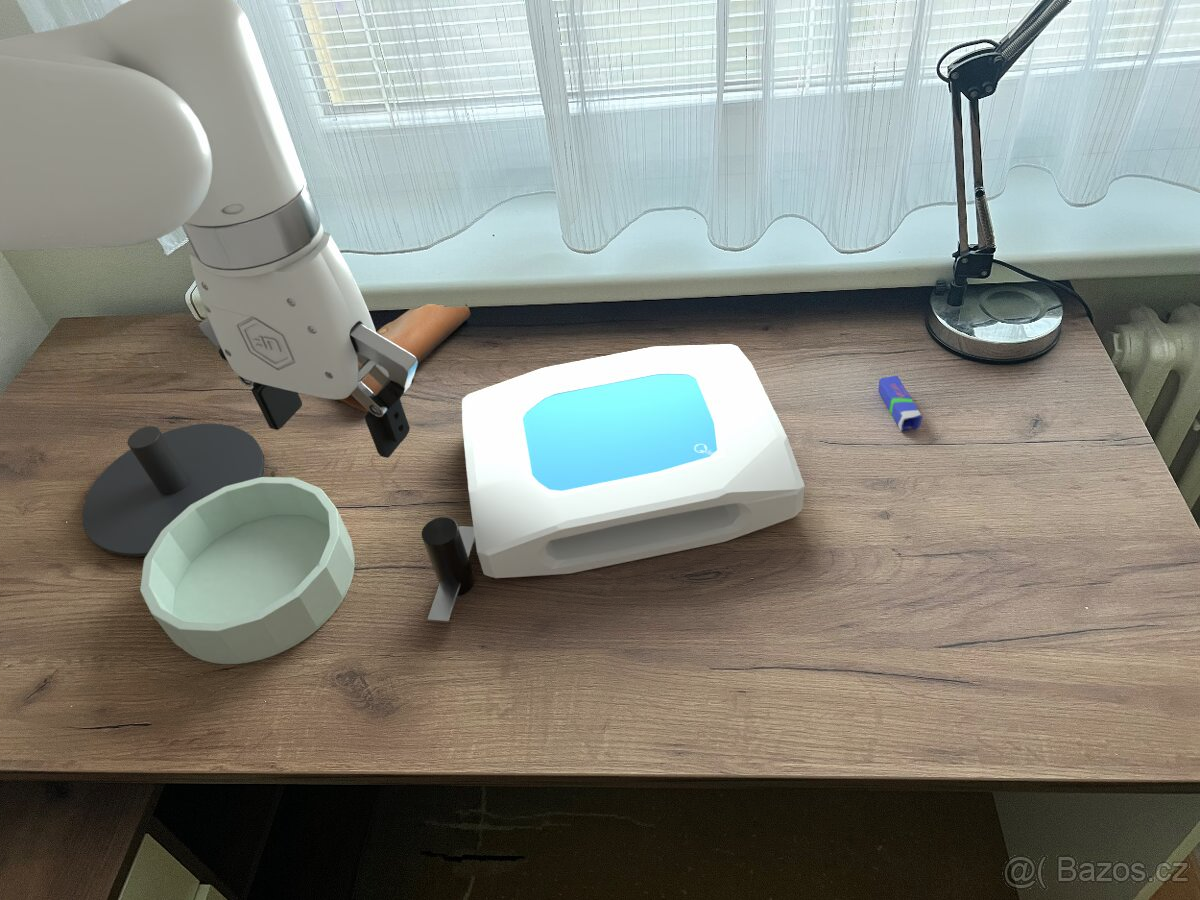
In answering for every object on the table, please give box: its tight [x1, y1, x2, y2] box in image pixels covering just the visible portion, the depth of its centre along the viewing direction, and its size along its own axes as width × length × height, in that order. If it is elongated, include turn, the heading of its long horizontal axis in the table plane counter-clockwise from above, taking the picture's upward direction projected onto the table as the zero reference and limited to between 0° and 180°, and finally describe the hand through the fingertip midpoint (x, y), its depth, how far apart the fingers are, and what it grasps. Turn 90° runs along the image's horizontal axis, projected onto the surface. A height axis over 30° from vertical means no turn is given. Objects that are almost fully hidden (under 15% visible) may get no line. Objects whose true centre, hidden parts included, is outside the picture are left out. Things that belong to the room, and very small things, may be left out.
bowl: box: [139, 476, 356, 665], centre depth 76 cm, size 17×17×5 cm
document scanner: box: [461, 343, 806, 579], centre depth 81 cm, size 21×28×6 cm
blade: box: [421, 516, 476, 624], centre depth 73 cm, size 10×3×7 cm, turn 171°
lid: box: [81, 423, 265, 558], centre depth 85 cm, size 18×18×8 cm
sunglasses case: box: [335, 303, 471, 414], centre depth 98 cm, size 18×7×7 cm
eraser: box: [877, 375, 923, 432], centre depth 85 cm, size 2×6×2 cm, turn 7°
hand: (340, 430), depth 64 cm, fingers open, 9 cm apart
